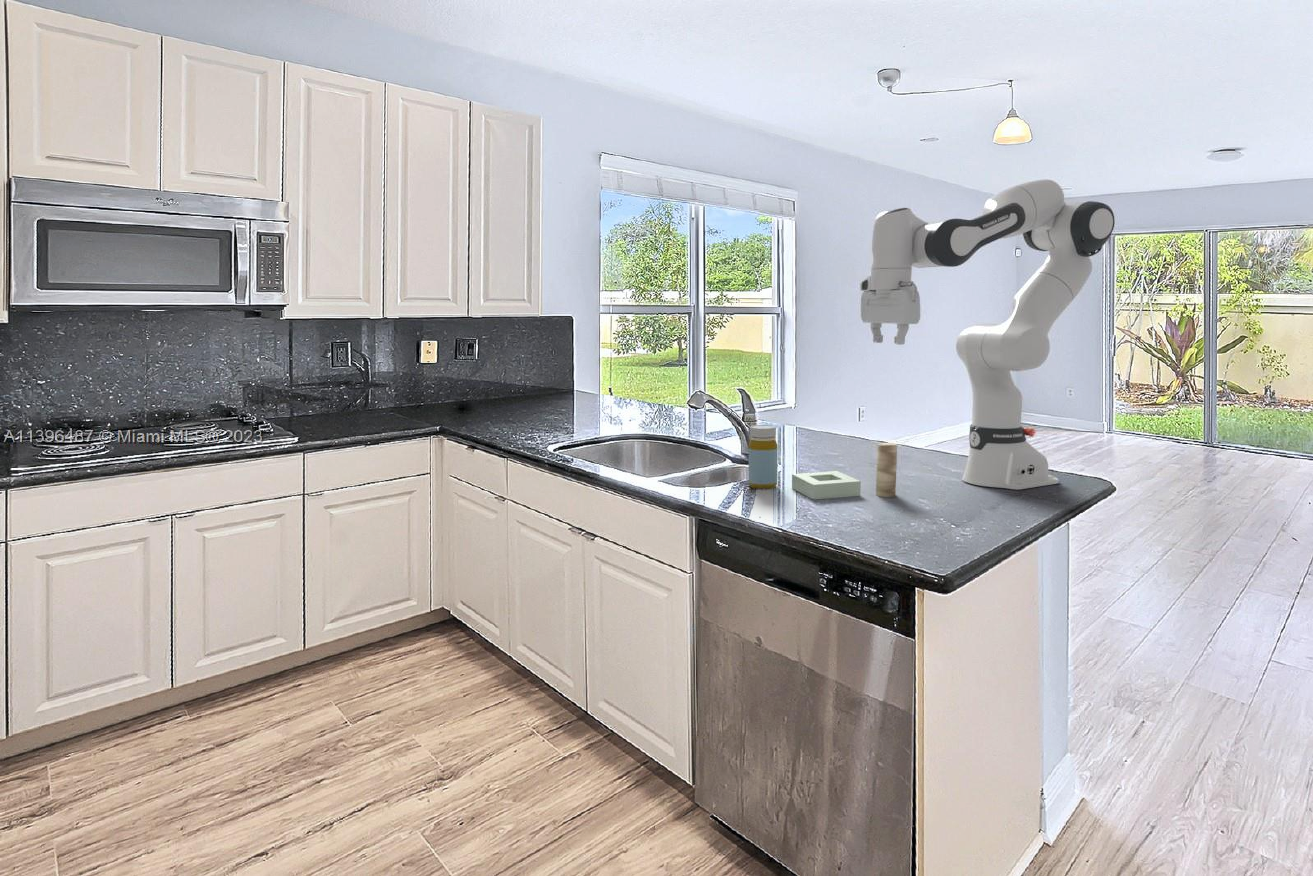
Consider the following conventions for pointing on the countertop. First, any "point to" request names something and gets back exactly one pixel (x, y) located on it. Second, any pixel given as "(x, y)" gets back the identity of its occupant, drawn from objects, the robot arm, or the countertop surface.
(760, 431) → the bottle
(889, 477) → the peg
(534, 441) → the countertop surface
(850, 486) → the socket
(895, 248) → the robot arm
